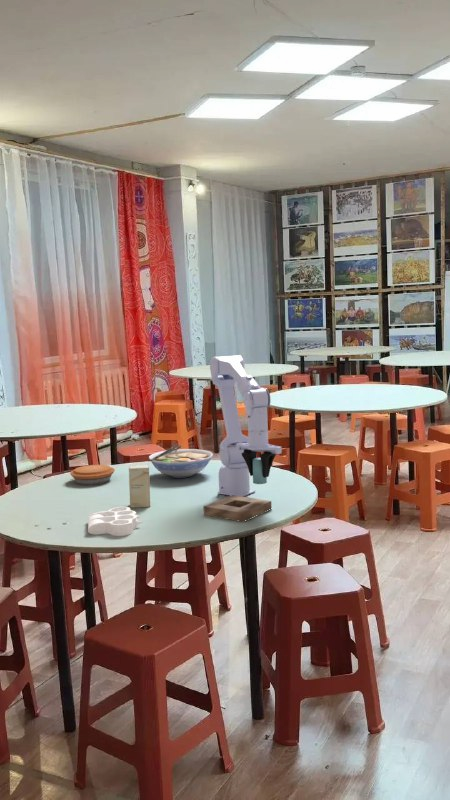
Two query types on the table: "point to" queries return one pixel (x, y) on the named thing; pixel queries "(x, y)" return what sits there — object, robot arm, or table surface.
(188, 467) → the ramen bowl
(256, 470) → the peg
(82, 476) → the pie
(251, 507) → the socket block
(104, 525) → the paw shaped tray
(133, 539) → the table surface
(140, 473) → the skincare box
